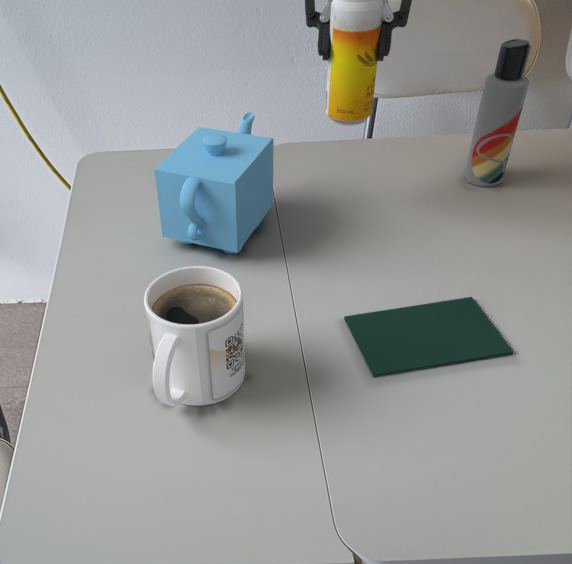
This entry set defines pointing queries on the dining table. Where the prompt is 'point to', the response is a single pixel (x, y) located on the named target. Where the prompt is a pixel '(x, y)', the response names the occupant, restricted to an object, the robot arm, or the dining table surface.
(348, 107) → the beer can
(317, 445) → the dining table surface
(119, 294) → the dining table surface
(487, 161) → the lotion bottle
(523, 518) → the dining table surface
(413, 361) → the cloth
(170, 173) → the teapot
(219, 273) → the mug
